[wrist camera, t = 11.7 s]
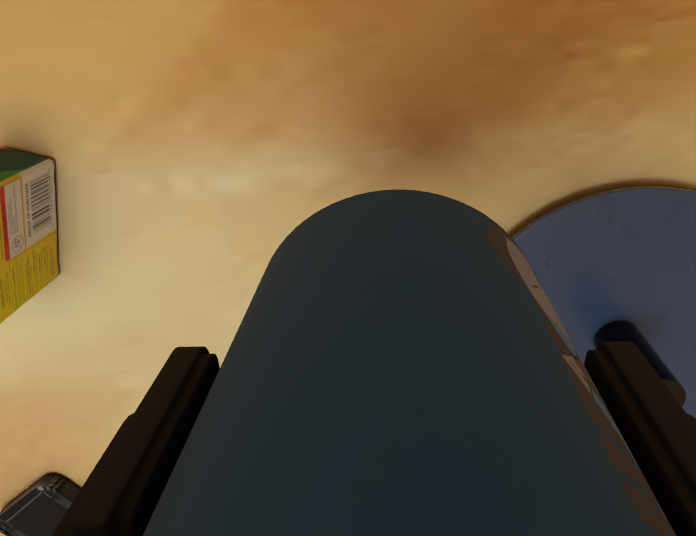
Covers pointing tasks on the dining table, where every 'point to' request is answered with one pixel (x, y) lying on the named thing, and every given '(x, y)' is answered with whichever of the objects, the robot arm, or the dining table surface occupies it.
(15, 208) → the crayon box
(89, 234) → the dining table surface
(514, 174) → the dining table surface
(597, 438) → the soda can
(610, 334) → the lid
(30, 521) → the phone
